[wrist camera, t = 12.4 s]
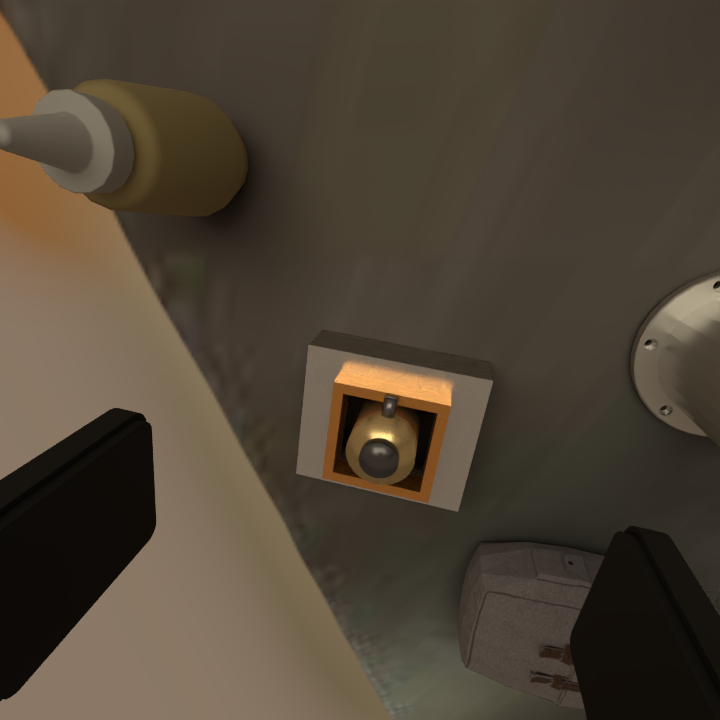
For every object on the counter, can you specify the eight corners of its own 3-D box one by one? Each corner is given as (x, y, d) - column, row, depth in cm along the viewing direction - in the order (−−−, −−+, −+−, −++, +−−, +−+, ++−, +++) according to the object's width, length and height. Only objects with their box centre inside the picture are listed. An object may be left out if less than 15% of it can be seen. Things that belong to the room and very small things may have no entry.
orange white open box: (489, 361, 37) (495, 392, 31) (457, 482, 41) (458, 528, 36) (322, 329, 38) (300, 353, 33) (309, 449, 43) (288, 487, 37)
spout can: (416, 436, 40) (407, 498, 32) (362, 424, 41) (339, 482, 33) (430, 370, 38) (424, 420, 30) (372, 359, 38) (350, 404, 30)
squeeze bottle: (258, 223, 36) (95, 252, 20) (166, 204, 37) (-65, 217, 21) (268, 110, 33) (84, 33, 17) (167, 92, 34) (-103, 2, 18)
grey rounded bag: (448, 626, 48) (653, 672, 45) (447, 709, 40) (695, 773, 37) (473, 510, 42) (708, 554, 39) (477, 581, 34) (770, 644, 31)
